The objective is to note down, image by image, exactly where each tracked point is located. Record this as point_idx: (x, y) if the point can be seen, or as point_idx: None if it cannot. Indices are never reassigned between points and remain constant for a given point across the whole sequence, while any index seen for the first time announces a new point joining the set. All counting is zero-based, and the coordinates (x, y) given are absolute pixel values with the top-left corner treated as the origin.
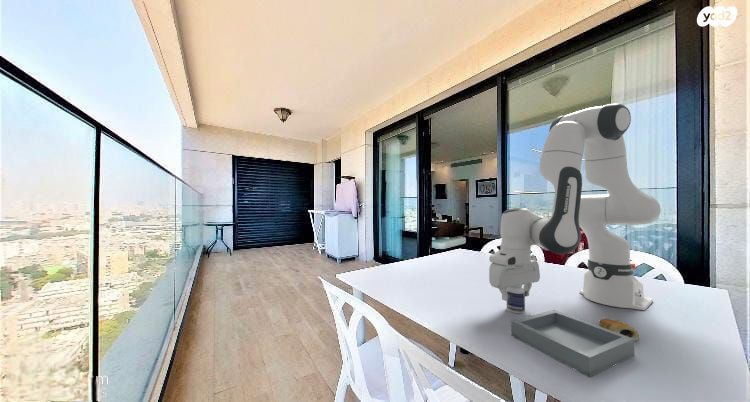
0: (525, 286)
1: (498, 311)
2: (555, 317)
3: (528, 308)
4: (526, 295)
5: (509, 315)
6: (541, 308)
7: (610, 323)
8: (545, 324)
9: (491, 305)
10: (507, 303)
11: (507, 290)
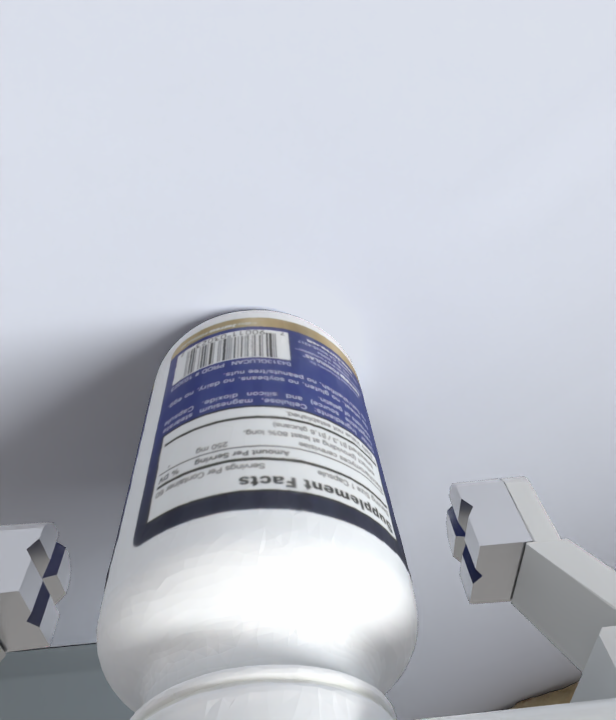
0: (587, 614)
1: (14, 353)
2: None
3: (459, 391)
4: (454, 549)
5: (80, 458)
6: (588, 427)
7: None
8: None
9: (36, 156)
10: (143, 425)
11: (103, 602)
